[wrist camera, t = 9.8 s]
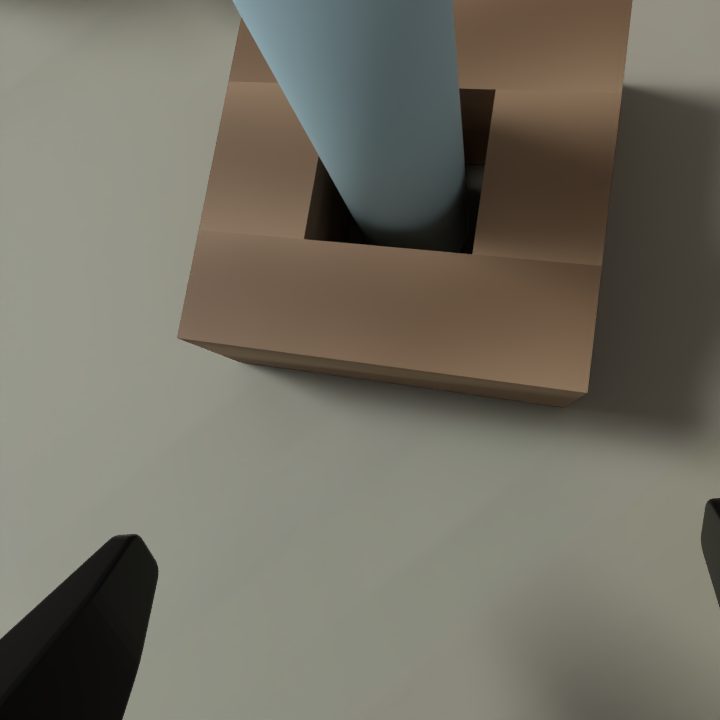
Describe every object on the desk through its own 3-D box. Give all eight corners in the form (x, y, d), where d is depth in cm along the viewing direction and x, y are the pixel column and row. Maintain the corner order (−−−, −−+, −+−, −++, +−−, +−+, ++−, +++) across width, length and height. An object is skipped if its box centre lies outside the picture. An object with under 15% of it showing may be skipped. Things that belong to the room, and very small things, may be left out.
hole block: (564, 407, 17) (587, 392, 13) (238, 361, 19) (177, 338, 16) (604, 80, 18) (634, -19, 15) (292, 72, 21) (247, -16, 17)
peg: (485, 251, 18) (481, -100, 7) (386, 291, 19) (226, 24, 7) (446, 160, 19) (385, -299, 8) (352, 201, 20) (156, -174, 8)
